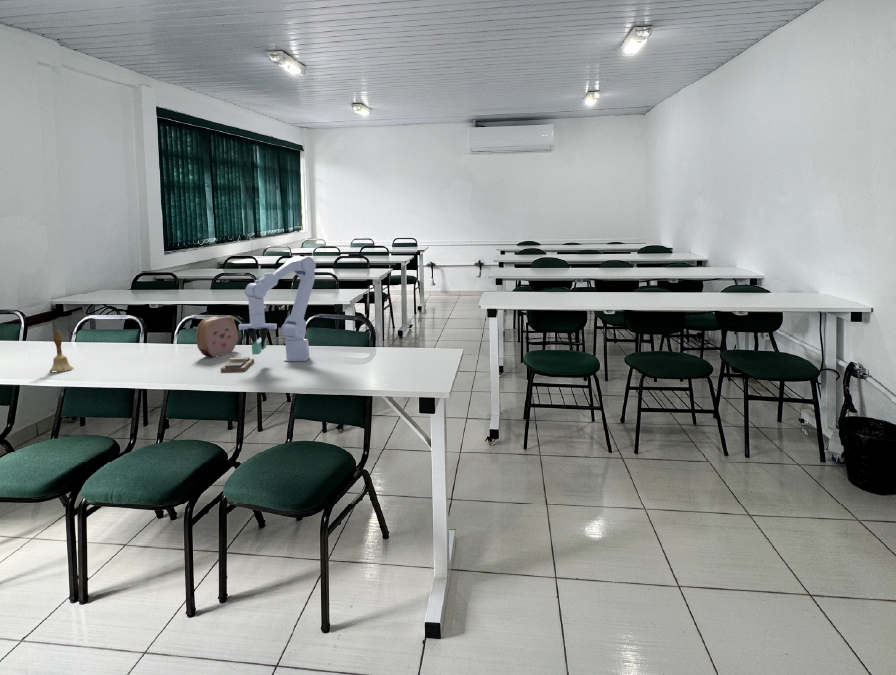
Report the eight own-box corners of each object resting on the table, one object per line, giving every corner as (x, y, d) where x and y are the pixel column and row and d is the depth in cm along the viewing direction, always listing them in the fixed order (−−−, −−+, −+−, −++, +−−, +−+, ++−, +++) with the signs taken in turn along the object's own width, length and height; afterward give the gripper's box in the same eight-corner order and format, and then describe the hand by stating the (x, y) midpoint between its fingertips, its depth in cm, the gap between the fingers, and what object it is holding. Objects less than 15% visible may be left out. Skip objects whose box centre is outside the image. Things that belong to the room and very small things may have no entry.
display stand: (232, 362, 249) (231, 354, 249) (254, 361, 250) (253, 353, 249) (220, 372, 234) (220, 363, 233) (244, 371, 234) (243, 362, 234)
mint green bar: (260, 347, 246) (259, 337, 246) (266, 346, 247) (265, 337, 246) (252, 354, 233) (251, 344, 232) (258, 354, 233) (257, 344, 232)
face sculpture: (209, 359, 255) (206, 321, 252) (196, 358, 257) (193, 320, 254) (240, 350, 273) (237, 314, 270) (227, 349, 276) (224, 313, 272)
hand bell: (51, 369, 241) (46, 330, 238) (75, 366, 244) (70, 328, 241) (47, 373, 234) (41, 333, 231) (71, 371, 237) (66, 332, 234)
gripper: (235, 315, 232) (238, 349, 235) (273, 314, 233) (275, 348, 236) (240, 312, 239) (242, 345, 242) (277, 312, 240) (279, 344, 243)
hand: (259, 346), depth 239 cm, fingers closed on mint green bar, 2 cm apart
